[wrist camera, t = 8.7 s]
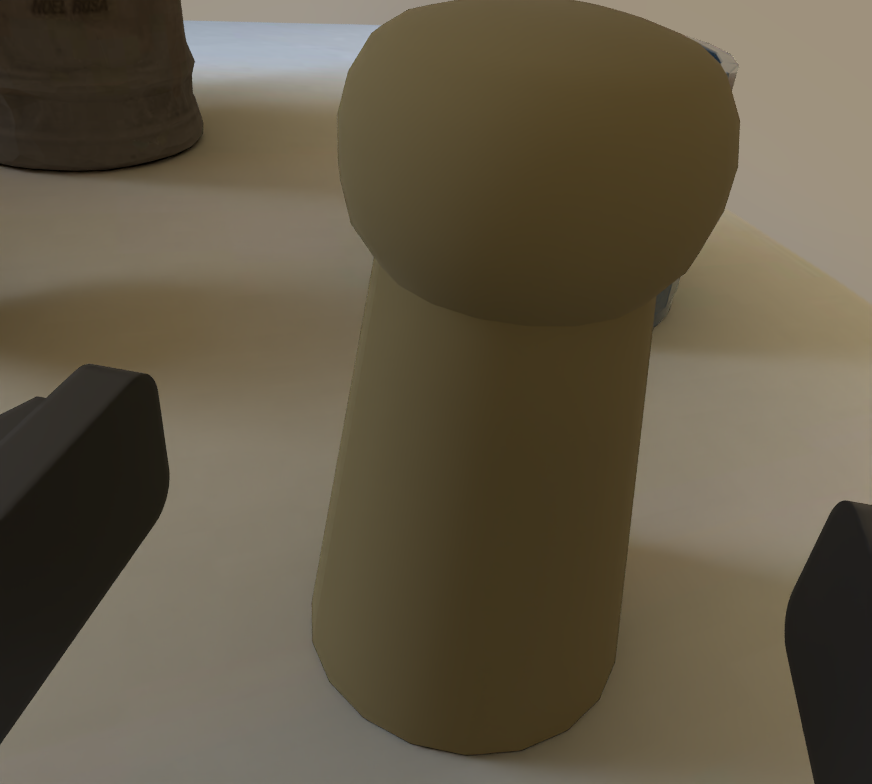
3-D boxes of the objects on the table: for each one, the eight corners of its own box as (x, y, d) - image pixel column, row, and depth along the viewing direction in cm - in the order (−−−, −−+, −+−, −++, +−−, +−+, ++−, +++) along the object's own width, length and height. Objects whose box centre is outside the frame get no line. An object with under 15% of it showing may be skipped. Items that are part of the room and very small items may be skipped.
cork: (592, 517, 18) (728, -8, 12) (644, 765, 13) (916, 91, 7) (331, 499, 18) (334, -43, 12) (285, 744, 13) (250, 32, 7)
